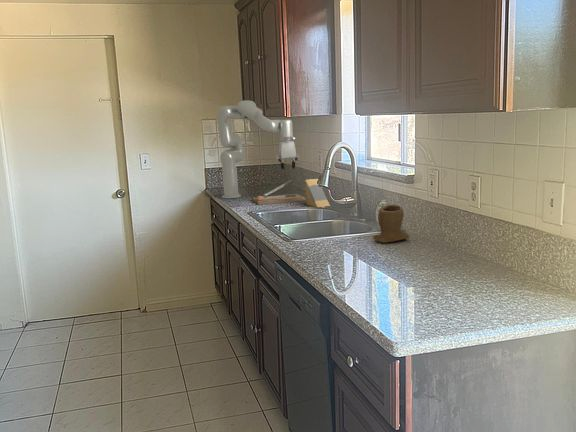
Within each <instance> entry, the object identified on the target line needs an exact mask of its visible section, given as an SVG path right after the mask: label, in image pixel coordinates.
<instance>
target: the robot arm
mask: <svg viewBox="0 0 576 432" xmlns="http://www.w3.org/2000/svg"><path fill="white" fill-rule="evenodd" d="M244 117H247V118H249V119H250V120H252V121H254V123H255V124H256V126H257V127H259V128H261V129H263V130H264V131H266V132H268V133H279V132H280V142H279V143H278V145H279V146H278V154H277V155H276V156H275V159H276V160H277V161H278V162H280V168H281V169H282V170H285V163H284V161H285V159H291V160H292V161H291V165H292V166H291V168H292V169H295V167H296V162H297V160H298V159H299V158H300V157H301V155H300V154H298V152H297V150H296V144H295V142H294V140H296V137H294V136H293V135H294V134H293V133H294V132H293V131H294V129H293V121H292V119H269V118H268V117H266V116H264V114H263V110H262V108H260V107H258V106H257V105H256V103H255V102H254V101H252V100H241V101H239V102H238V103H237V105H225V106H222V107H220V109H218V111H217V113H216V122H217V126H218V134H219V135H218V136H219V141H220V146H221V147H222V148H225V150H224V151H222V152H221V153H220V157H219V158H220V162H221V163H220V164H221V168H222V169H221V170H222V184H223V195H222V196H221V198H222V199H238V198H241V194H240V193H239V183H238V182H239V181H238V170H237V166H236V164H239V163H241V162H242V160H243V158H244V152H243V151H244V149H243V146H242V145H243V143H242V139H241V136H240V135H239V134H238V133H236V132H233V130H232V129H233V128H232V124H231V122H230V120H237V119H241V118H244ZM228 148H229V149H228Z"/></svg>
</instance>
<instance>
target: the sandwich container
mask: <svg viewBox="0 0 576 432" xmlns="http://www.w3.org/2000/svg"><path fill="white" fill-rule="evenodd" d="M318 180H319V178H311V179H305V201H306V205H307V206H309V207H313V206H314V208H316V207H322V208H326V207H325V206H330V207H331V205H330V203H329V200H328V198H327V196H326V194H325V192H324V189H323V187H322V186H321V187H319V186H318V184H317V181H318Z"/></svg>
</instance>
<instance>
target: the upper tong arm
mask: <svg viewBox="0 0 576 432" xmlns="http://www.w3.org/2000/svg"><path fill="white" fill-rule="evenodd" d="M293 183H294V181H293V180H292V179H291V180H288V181H286V182H285V183H283V184H281V185H279V186H277V187H275V188H273V189H272V190H270V191H268V192H266V193H263V194H262V196H263V197H267V196H270V195H271V194H272V193H273V194H274V192H277V191H279V190H280V189H282V188H283V187H284V188H285V187H287V186H289V185H291V184H293Z"/></svg>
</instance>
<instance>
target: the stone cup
mask: <svg viewBox="0 0 576 432" xmlns="http://www.w3.org/2000/svg"><path fill="white" fill-rule="evenodd" d="M377 213H378V214H377V220H378V225H379V228H380V233H379V234H376V235H374V236H373V238H372V239H373V240H374V241H375V242H379V243H384V244H385V243H392V242H399V241H402V240H407V239H410V236H409V234H408V233H407V232H406V230H405V229H402V225H403V220H404V217H405V216H404V214H405V213H404V209H403V207H402V206H400V205H399V204H387V205H384V206H381V207H380V208H379V209H378V212H377Z"/></svg>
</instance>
